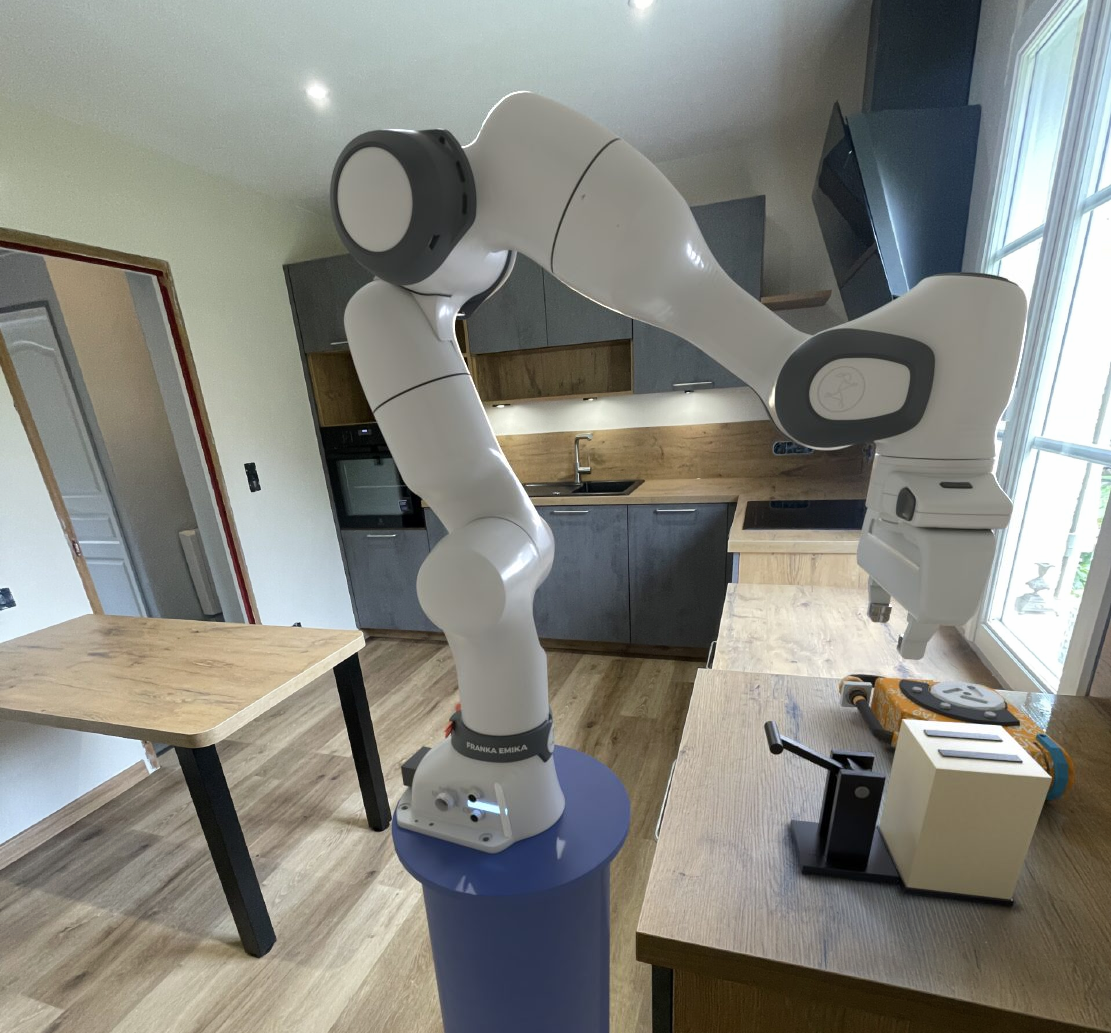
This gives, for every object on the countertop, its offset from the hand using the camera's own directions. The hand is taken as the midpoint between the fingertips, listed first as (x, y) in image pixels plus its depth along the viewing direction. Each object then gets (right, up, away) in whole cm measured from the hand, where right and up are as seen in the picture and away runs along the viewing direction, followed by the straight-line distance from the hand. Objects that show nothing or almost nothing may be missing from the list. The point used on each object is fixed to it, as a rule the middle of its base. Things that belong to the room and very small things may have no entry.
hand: (891, 637), depth 56 cm
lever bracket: (+1, -26, +13) cm, 29 cm away
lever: (-4, -15, +10) cm, 18 cm away
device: (+26, -17, +34) cm, 46 cm away
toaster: (+12, -26, +11) cm, 31 cm away
